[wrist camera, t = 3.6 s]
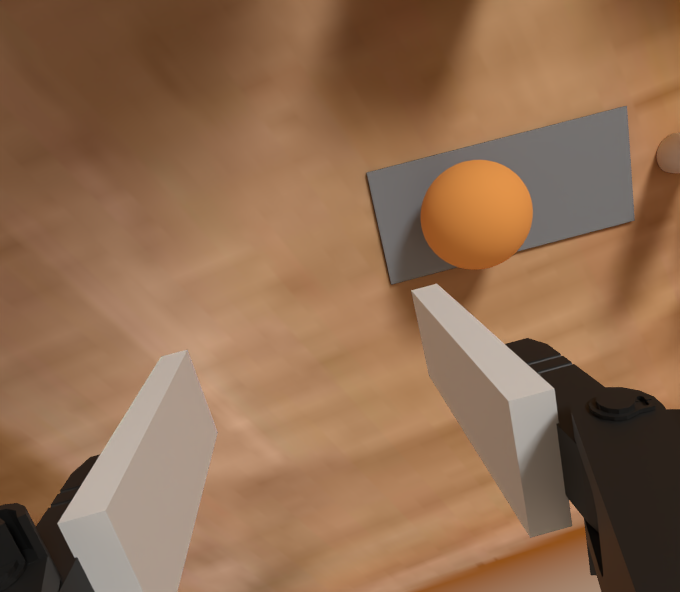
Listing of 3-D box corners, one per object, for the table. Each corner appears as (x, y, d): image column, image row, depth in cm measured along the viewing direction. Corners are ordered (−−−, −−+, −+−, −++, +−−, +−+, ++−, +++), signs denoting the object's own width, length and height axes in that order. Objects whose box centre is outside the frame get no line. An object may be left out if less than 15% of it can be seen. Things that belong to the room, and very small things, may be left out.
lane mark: (390, 283, 32) (391, 284, 32) (366, 172, 30) (366, 172, 29) (632, 220, 32) (634, 220, 32) (624, 106, 30) (626, 105, 30)
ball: (419, 268, 32) (449, 294, 26) (400, 172, 30) (427, 177, 24) (511, 244, 32) (560, 264, 26) (497, 147, 30) (547, 147, 24)
